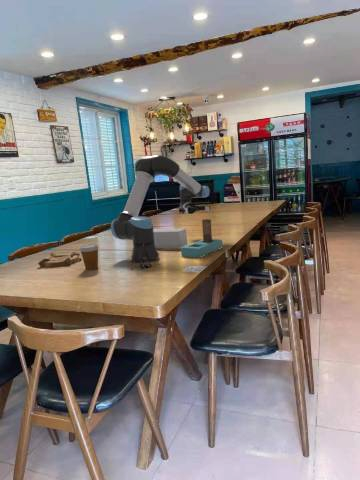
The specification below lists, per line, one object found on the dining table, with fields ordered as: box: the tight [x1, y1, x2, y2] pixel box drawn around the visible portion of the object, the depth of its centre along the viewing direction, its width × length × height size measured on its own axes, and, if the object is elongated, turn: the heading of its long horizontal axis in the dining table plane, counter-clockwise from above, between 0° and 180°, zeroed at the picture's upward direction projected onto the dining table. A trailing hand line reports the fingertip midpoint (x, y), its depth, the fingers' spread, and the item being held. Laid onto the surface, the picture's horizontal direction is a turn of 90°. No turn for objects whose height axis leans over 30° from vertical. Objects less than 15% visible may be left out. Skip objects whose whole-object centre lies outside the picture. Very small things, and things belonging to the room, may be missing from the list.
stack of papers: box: [153, 227, 188, 249], centre depth 223 cm, size 32×11×11 cm, turn 66°
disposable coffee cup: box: [79, 243, 99, 271], centre depth 180 cm, size 10×10×12 cm
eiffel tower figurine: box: [129, 244, 161, 271], centre depth 174 cm, size 15×10×13 cm
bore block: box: [180, 238, 223, 258], centre depth 196 cm, size 24×12×5 cm, turn 143°
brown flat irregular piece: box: [37, 251, 82, 269], centre depth 201 cm, size 24×24×5 cm
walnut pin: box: [201, 218, 213, 243], centre depth 200 cm, size 5×5×16 cm
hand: (198, 210), depth 212 cm, fingers open, 13 cm apart
